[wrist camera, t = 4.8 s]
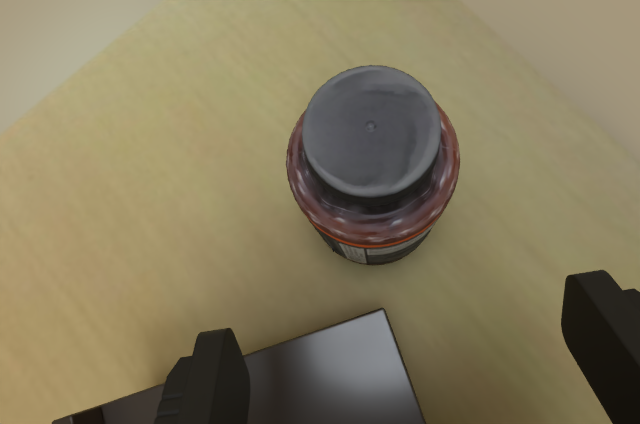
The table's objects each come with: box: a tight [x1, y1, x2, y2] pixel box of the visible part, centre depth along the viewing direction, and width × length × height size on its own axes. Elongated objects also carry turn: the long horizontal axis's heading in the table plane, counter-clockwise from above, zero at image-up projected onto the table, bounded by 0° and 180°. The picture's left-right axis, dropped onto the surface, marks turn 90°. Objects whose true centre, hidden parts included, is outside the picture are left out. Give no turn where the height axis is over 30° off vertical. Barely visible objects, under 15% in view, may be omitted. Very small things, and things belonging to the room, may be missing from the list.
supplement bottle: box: [286, 65, 460, 265], centre depth 19 cm, size 6×6×11 cm
